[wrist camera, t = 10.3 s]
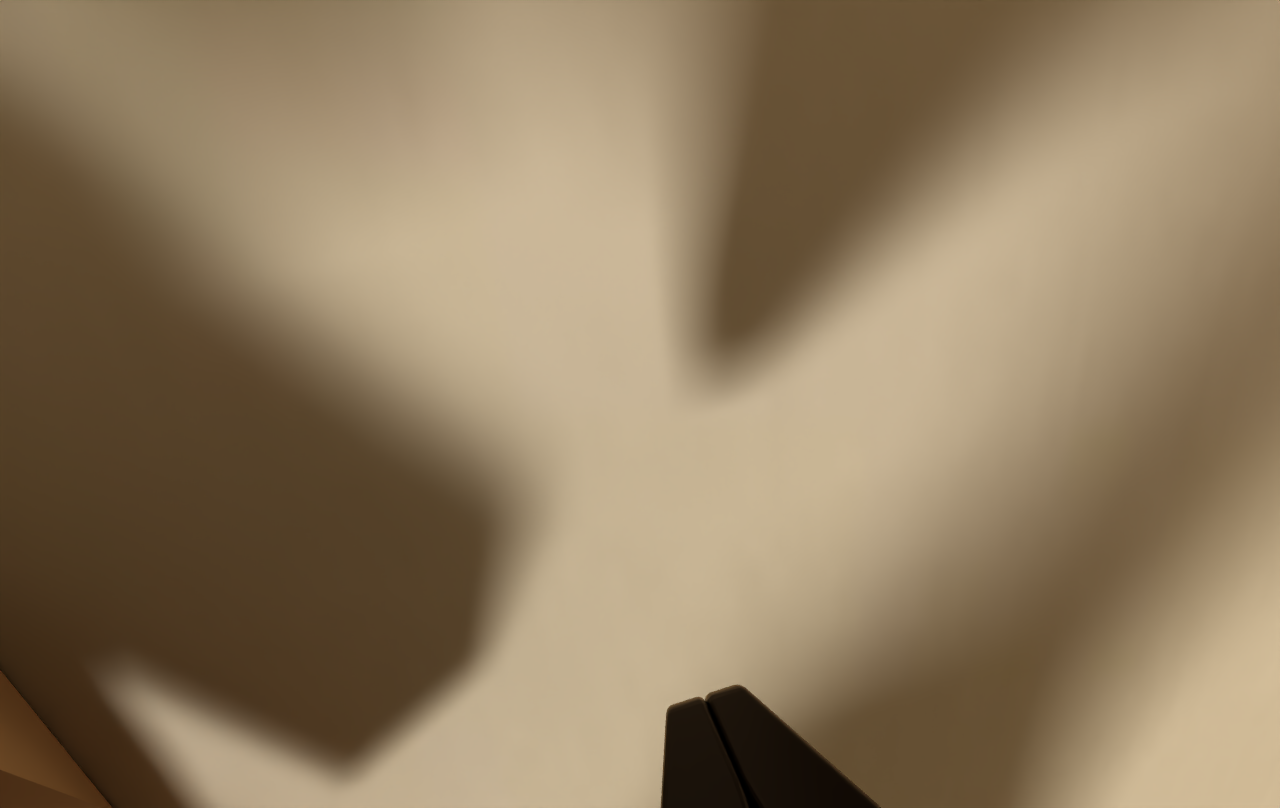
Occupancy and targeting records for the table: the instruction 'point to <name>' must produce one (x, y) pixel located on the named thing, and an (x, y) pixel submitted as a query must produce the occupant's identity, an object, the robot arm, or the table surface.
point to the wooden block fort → (38, 750)
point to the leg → (34, 795)
